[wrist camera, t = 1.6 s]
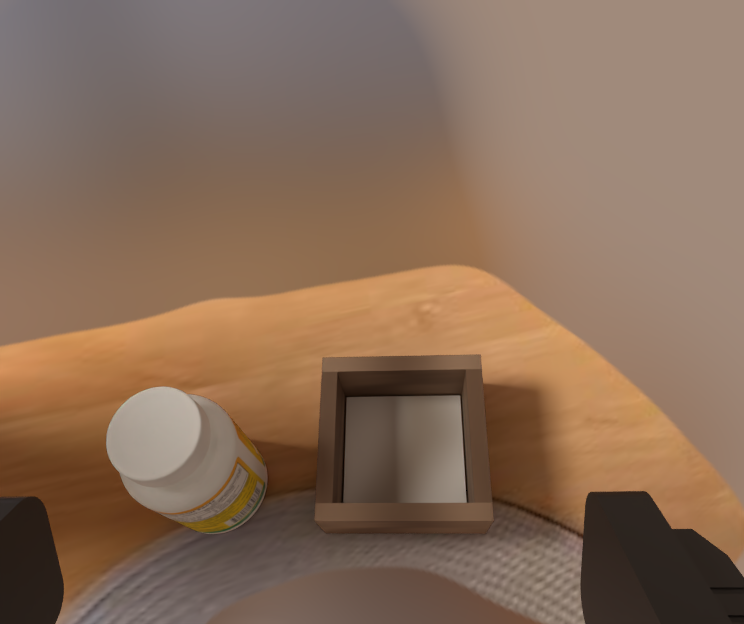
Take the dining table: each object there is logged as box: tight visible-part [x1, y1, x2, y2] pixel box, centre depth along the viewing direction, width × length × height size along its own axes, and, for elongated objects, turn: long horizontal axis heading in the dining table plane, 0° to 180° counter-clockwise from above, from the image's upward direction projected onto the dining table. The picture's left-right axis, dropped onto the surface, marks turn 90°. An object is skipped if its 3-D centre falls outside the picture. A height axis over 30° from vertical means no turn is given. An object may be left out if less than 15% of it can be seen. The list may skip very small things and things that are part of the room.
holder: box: [314, 355, 494, 533], centre depth 32 cm, size 8×8×4 cm
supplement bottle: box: [106, 387, 268, 534], centre depth 29 cm, size 5×5×10 cm
